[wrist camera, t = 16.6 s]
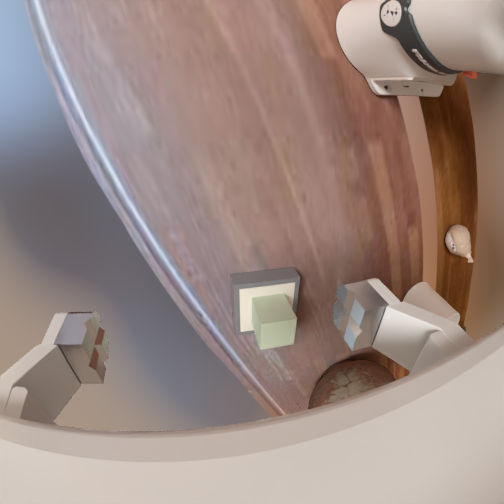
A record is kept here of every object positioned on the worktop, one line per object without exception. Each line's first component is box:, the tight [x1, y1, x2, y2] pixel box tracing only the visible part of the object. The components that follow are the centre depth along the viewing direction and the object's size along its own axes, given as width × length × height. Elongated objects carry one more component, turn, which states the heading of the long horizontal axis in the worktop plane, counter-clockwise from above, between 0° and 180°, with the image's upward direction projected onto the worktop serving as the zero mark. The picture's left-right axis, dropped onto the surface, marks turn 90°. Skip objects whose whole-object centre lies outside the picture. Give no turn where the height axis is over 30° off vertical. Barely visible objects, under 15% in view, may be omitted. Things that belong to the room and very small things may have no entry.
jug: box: [308, 360, 396, 409], centre depth 50 cm, size 22×22×30 cm
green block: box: [251, 293, 297, 350], centre depth 41 cm, size 5×5×6 cm
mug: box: [403, 282, 460, 324], centre depth 51 cm, size 12×8×12 cm
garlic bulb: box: [445, 225, 474, 262], centre depth 47 cm, size 7×6×8 cm
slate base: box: [231, 267, 300, 335], centre depth 45 cm, size 10×10×3 cm
